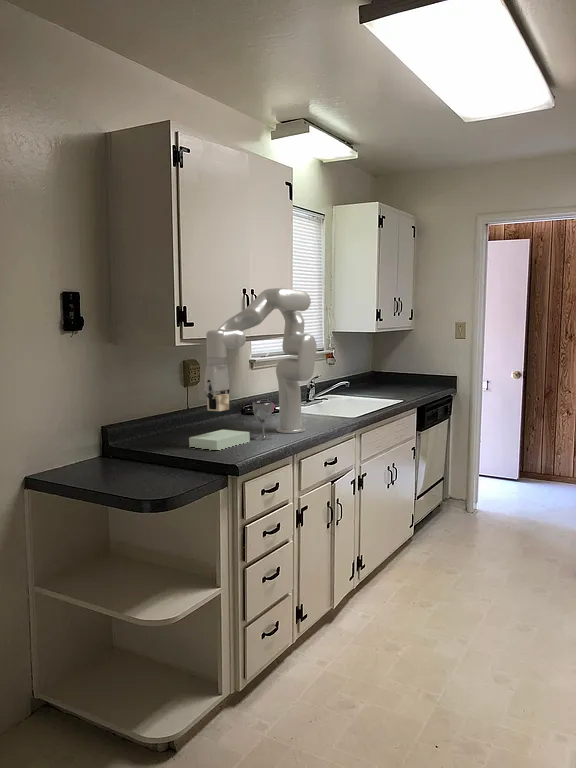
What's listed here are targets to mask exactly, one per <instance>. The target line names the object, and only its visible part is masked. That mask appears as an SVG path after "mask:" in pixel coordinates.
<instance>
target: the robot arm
mask: <svg viewBox="0 0 576 768" xmlns="http://www.w3.org/2000/svg"><path fill="white" fill-rule="evenodd" d="M311 302H312V301H311V297H310V294H309V293H307V292H306V291H304V290H297V289H291V288H284V287H277V288H276V287H275V288H266V289H264V290H262V292H260V293H259V295H257V296H256V297H255V299H254V300H252V301H251V303H250V304H249V305H247V307H246V308H245V309H243V310H241V311H239V312H238V313H236V314H235V315H233V316H231V317H230V318H228V319H227V320H225V321H224V322H223V324H221V326H219V327H218V328H217V329H215V330H214V329H213V330H208V331H206V334H205V335H206V338H205V339H206V366H205V372H204V389H203V393H204V394H205V396H206V399H207V398H208V399H209V409H216V399H215V395H216V394H217V392H219V394H229V393H230V391H231V389H232V385H231V384H230V376H229V368H228V365H227V364H228V363H227V349H239V348H242V347H243V346H244V345H245V344H246V341H247V337H246V334H245V333H244V331H246V330H249V329H252V328H254V327H257V326H259V325H260V324H261V323H263V321H264V320H265V319H266V318H267V317H268V316H269V315H270V314H271V313H272V312H273V311H274V310H279V312H280V313H281V315H282V317H283V319H284V330H283V339H282V346H281V347H282V352H283V353H284V354H285V355H287V356H295V357H296V356H297V358H292V357H291V358H283V359H281V360H279V361H278V362H277V364H276V366H275V374H276V379H277V386H278V406H279V407H278V408H279V412H278V413H279V414H278V415H279V426H278V427H277V428H276V432H278V433H283V434H298V433H302V432H305V431H306V427H305V426H303V425H305V424H306V423H307V420H306V419H305V418H304V419H302V392H301V391H302V390H301V386H300V384H299V382H308V381H310V379H311V378H312V377H313V375H314V371H315V366H316V365H315V364H316V359H317V358H316V356H317V341H316V338H315V337H314V336H313V335H312V334H309V333H305V319H304V317H303V314H302V313H301V312H305V311H307V310H308V309H309V308H310V306H311V304H312V303H311ZM229 395H230V394H229Z"/></svg>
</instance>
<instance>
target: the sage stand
mask: <svg viewBox="0 0 576 768" xmlns="http://www.w3.org/2000/svg"><path fill="white" fill-rule="evenodd" d="M247 442H248V443H250V442H251V437H250V431H244V430H243V431H241V430H233V429H219V430H216V431H211V432H206V433H202V434H199V435H194V436H190V437H188V443H189V448H190V447H195V448H202V449H201V450H203V449H209V450H208V451H211V450H220V451H222V450H221V449H223V450H226V449H225V448H227V449H229V448H228V447H230V448H233V447H232V446H234V447H236V446H235V445H237V446H240V445H239V444H241V445H244V444H247ZM243 443H244V444H243ZM195 448H194V449H195Z"/></svg>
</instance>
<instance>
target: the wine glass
mask: <svg viewBox="0 0 576 768" xmlns="http://www.w3.org/2000/svg"><path fill="white" fill-rule="evenodd" d="M252 410H253V414H254V417H255V418H256V420H257V421H258V422H259V423H260V425H261V432H262V436H258V437H255V438H254V440H255V439H256V441H267V440H266V439H271V438H272V437H271V438H270V436H266V434H265V426H266V423H267V422H268V420H270V418H271V416H272V414H273V413H272V412H273V401H270V400H269V401H267V400H264V401H262V400H260V401H254V402H252ZM271 440H272V439H271Z"/></svg>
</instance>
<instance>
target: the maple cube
mask: <svg viewBox="0 0 576 768" xmlns="http://www.w3.org/2000/svg"><path fill="white" fill-rule="evenodd" d="M229 395H230V394H220V393H216V395H215V399H216V409H209V399H208V398H207V397H206V403H207V404H206V405H207V407H206V408H207V411H209V412H222V411H223V412H224V411H228V410H230V396H229Z"/></svg>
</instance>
